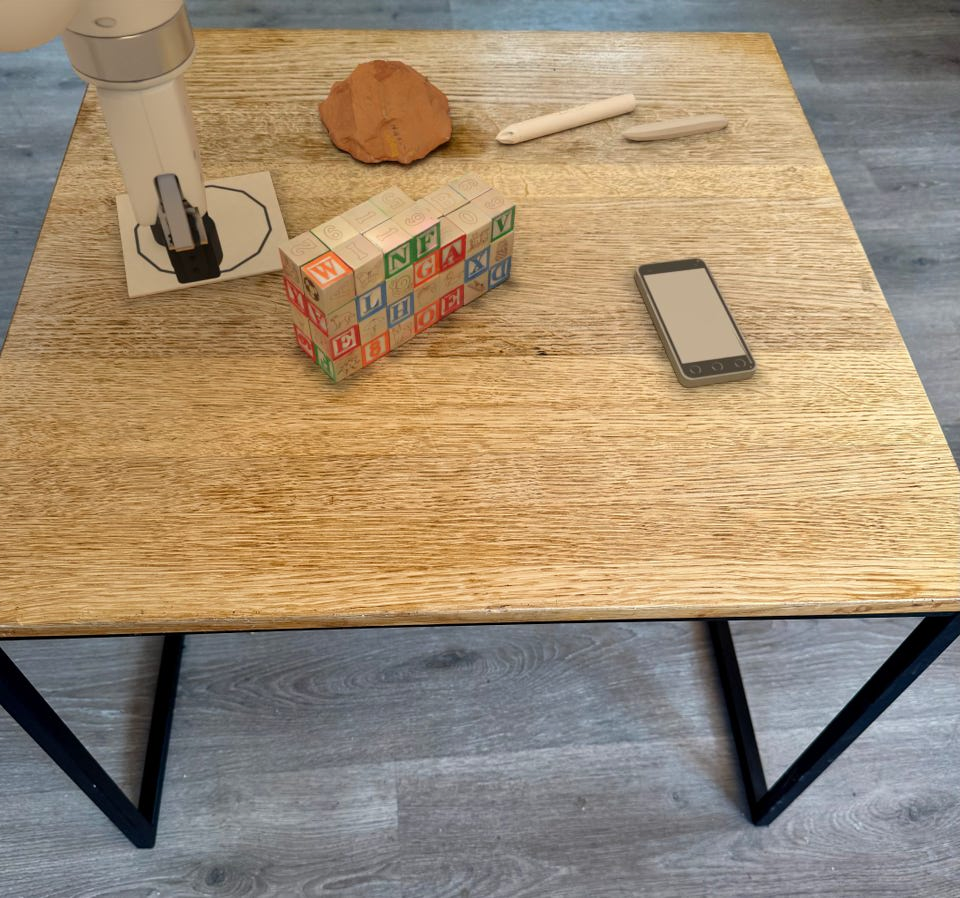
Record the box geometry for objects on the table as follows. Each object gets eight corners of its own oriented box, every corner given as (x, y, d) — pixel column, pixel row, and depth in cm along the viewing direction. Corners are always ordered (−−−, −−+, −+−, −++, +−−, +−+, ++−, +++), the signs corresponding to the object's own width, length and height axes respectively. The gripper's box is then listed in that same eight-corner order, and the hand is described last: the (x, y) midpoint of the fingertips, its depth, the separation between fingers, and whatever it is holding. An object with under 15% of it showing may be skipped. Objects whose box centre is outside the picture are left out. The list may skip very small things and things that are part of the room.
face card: (129, 298, 83) (128, 296, 83) (115, 197, 91) (114, 194, 91) (296, 267, 87) (296, 264, 86) (269, 172, 95) (269, 170, 94)
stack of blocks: (469, 244, 90) (474, 142, 79) (511, 279, 87) (521, 177, 77) (295, 344, 81) (275, 243, 71) (335, 385, 79) (321, 287, 68)
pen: (615, 139, 101) (617, 126, 99) (724, 121, 104) (727, 109, 102) (620, 147, 100) (623, 135, 98) (730, 129, 103) (734, 117, 101)
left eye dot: (156, 251, 87) (148, 227, 84) (151, 224, 89) (143, 200, 86) (197, 243, 88) (190, 220, 85) (192, 217, 90) (185, 194, 87)
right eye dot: (173, 280, 67) (163, 251, 64) (168, 245, 69) (158, 215, 66) (226, 271, 68) (218, 242, 65) (219, 236, 70) (211, 207, 67)
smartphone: (684, 380, 79) (633, 265, 87) (682, 388, 80) (631, 273, 88) (760, 370, 80) (703, 256, 88) (756, 377, 81) (700, 264, 89)
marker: (499, 152, 98) (500, 134, 96) (490, 141, 99) (491, 123, 97) (634, 114, 104) (638, 96, 102) (625, 104, 105) (628, 87, 103)
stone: (462, 176, 99) (446, 127, 90) (339, 204, 101) (310, 159, 91) (443, 63, 103) (425, 4, 93) (324, 92, 104) (294, 37, 95)
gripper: (58, -31, 57) (137, 195, 72) (68, 125, 48) (157, 345, 63) (176, -44, 58) (230, 181, 73) (208, 105, 49) (261, 325, 65)
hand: (195, 255), depth 68 cm, fingers closed on right eye dot, 4 cm apart
